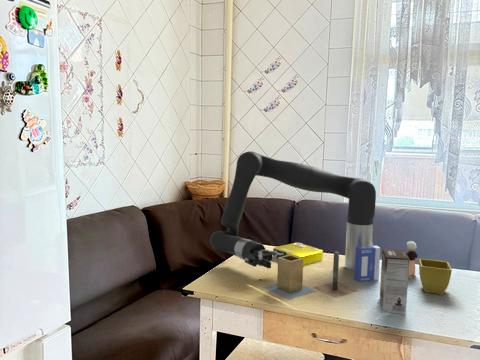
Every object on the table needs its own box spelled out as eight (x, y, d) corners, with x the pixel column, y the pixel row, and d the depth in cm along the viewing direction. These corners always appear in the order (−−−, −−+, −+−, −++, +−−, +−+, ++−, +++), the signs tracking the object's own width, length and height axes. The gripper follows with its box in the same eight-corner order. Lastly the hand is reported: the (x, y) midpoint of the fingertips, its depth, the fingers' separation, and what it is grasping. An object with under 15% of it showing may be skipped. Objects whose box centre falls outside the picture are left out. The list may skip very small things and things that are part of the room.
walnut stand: (333, 282, 139) (334, 246, 138) (357, 291, 131) (359, 253, 130) (312, 288, 134) (313, 250, 132) (336, 298, 126) (338, 258, 124)
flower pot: (446, 288, 136) (448, 261, 135) (450, 298, 128) (452, 269, 127) (417, 284, 139) (418, 258, 138) (419, 294, 131) (420, 266, 130)
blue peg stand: (290, 280, 140) (291, 260, 139) (317, 292, 131) (317, 269, 130) (263, 288, 133) (263, 266, 132) (288, 300, 124) (289, 277, 123)
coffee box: (378, 299, 126) (381, 247, 124) (401, 301, 124) (404, 249, 122) (382, 312, 117) (386, 256, 115) (407, 314, 115) (410, 258, 114)
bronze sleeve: (290, 284, 136) (290, 254, 135) (302, 289, 131) (303, 259, 130) (277, 288, 132) (277, 257, 131) (289, 293, 128) (290, 262, 127)
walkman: (358, 282, 140) (359, 247, 138) (354, 279, 142) (355, 245, 141) (379, 281, 141) (381, 246, 140) (375, 278, 144) (377, 244, 143)
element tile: (270, 258, 167) (271, 246, 166) (296, 251, 176) (297, 240, 176) (298, 268, 155) (298, 255, 155) (324, 260, 165) (325, 249, 164)
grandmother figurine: (408, 272, 151) (410, 238, 149) (419, 275, 148) (421, 240, 146) (399, 277, 145) (401, 242, 144) (410, 280, 142) (412, 244, 141)
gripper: (233, 243, 143) (263, 255, 130) (265, 237, 151) (296, 248, 138) (233, 264, 144) (263, 278, 131) (264, 258, 152) (296, 270, 139)
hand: (280, 263), depth 135 cm, fingers open, 8 cm apart
